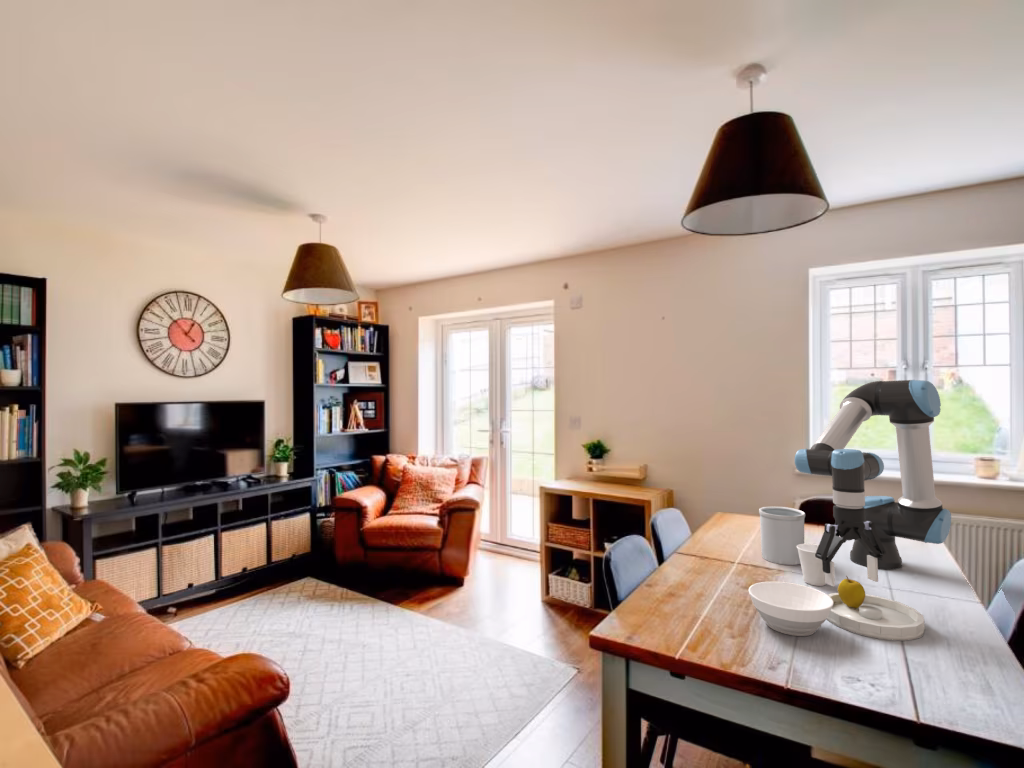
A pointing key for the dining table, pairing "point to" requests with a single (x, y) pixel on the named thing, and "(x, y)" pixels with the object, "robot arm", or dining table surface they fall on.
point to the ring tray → (883, 628)
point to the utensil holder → (781, 534)
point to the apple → (851, 592)
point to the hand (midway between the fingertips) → (851, 582)
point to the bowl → (791, 607)
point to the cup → (811, 565)
